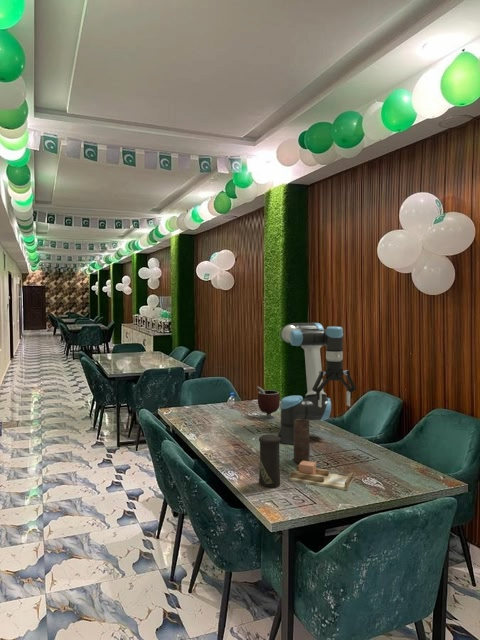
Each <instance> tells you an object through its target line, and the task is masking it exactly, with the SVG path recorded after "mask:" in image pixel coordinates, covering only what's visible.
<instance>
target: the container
mask: <svg viewBox="0 0 480 640" xmlns="http://www.w3.org/2000/svg"><path fill="white" fill-rule="evenodd" d="M277 435H278V434H263V435H261V436H259V437H258V442H259V466H258V467H259V468H258V469H259V472H258V474H259V475H258V478H259V479H258V484H259V486H261V487H263V488H267V489H274V488H275V489H276V488H278V487H280V486H281V469H280V467H281V465H280V463H281V461H280V459H281V458H280V443H281V442H280V441H281V438H280V437H279V436H277Z"/></svg>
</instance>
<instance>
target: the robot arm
mask: <svg viewBox="0 0 480 640" xmlns="http://www.w3.org/2000/svg"><path fill="white" fill-rule="evenodd" d="M280 336H281V339H282V340H283V341H284V342H285V343H287V344H290V345H291V346H296V347H301V348H302V349H303V350H304V360H305V362H304V363H305V375H306V376H305V377H306V387H307V389H306V390H307V393H306V394H305V395H304V398H303V396H302V395H298V394H297V395H289V396H284V397H283V398H281V400H280V405H279V408H280V427H279V428H278V429H279V430H278V432H277V434H276V435H277V436H279V437H280V438H281V441H280V442H279V443H282V444H286V445H294V421H295V420H296V419H309V422H310V421H320V422H321V421H326V420H328V419H329V418H330V416H331V412H332V402H331V398H330V397H327V396H328V395H327V393H326V392H325V391H324V388H325V387H326V386H327V385H328V383H329V382H330V381H331V382H334V381H336V382H337V381H340V382H341V383H342V385H343V387H345V388H346V390H347V391H346V406H348V407H351V400H352V398H353V392H354V391H357V387H356V386H355V383H354V381H353V379H352V377H351V374H350V373H351V372H350V370H349V369H345V370H343V368H344V365H343V364H344V363H343V359H344V356H343V355H344V353H343V352H344V351H343V349H344V348H343V347H344V329H343V327H342V326H327V327H326V329H324V326H323V325H322V324H321V323H319V322H293V323H289V324H286V325H285V326H284V327H282V329H281V331H280ZM323 346H325V359H326V361H325V371H323V370H322V359H321V348H322V347H323ZM343 375H345V377H346V379H347V381H348V382H346V380H345V379H344V377H343ZM324 376H326V377H325V378H324ZM323 378H324V380H323Z"/></svg>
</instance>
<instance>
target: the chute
mask: <svg viewBox="0 0 480 640" xmlns="http://www.w3.org/2000/svg"><path fill="white" fill-rule="evenodd" d="M295 467H296V468H295V470H296V471H293V470H291V472H290V477H289V479H288V481H290V482H296V483H301V484H307V485H314V486H320V487H325V488H331V489H335V490H343V491H348V490H349V488H350V486H351V485H352V483H353V481H354V472H352V471H351V472H350V473H349V475H340V474H336V473H330V470H329V469H324V468H319V467H316V475H312V474H306V473H299V464H297V465H296V466H295Z"/></svg>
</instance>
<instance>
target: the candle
mask: <svg viewBox="0 0 480 640" xmlns="http://www.w3.org/2000/svg"><path fill="white" fill-rule="evenodd" d="M310 454H311V453H310V421H309V419H296V420H295V421H294V444H293V461H294V462H297V463H299V464H300V463H301V462H302V461H309V462H311V461H310V458H311V457H310Z"/></svg>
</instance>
